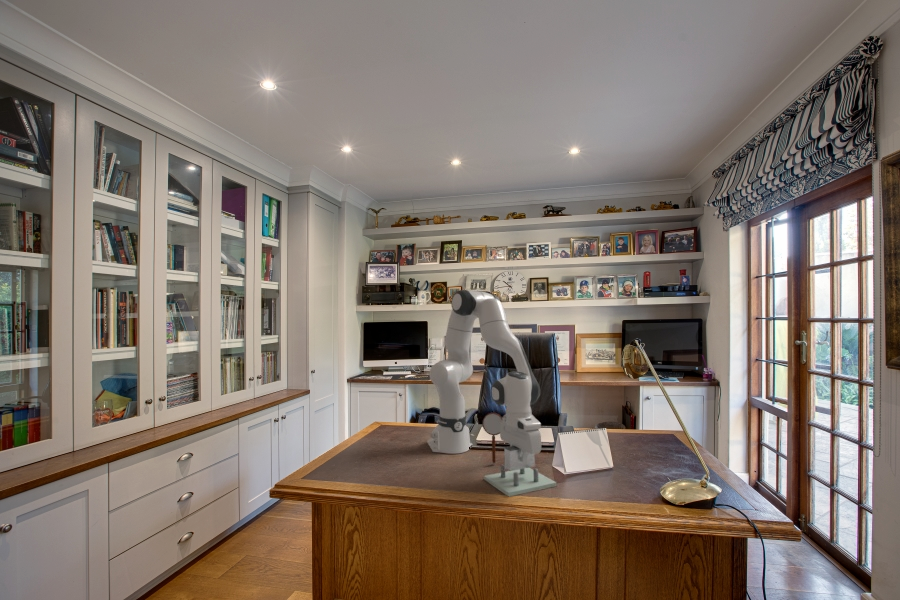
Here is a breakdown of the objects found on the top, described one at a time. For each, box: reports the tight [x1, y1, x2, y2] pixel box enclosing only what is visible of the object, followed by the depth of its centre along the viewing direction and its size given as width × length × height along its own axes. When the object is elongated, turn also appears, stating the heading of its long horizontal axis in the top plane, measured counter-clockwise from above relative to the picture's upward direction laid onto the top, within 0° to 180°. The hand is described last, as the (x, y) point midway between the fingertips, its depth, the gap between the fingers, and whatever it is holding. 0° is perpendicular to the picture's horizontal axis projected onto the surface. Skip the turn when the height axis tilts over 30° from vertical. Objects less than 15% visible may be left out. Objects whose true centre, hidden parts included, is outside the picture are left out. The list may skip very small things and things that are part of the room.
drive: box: [503, 445, 536, 471], centre depth 145 cm, size 4×10×7 cm, turn 115°
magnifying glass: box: [481, 412, 503, 466], centre depth 163 cm, size 9×2×20 cm, turn 74°
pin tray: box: [483, 464, 557, 497], centre depth 145 cm, size 16×19×5 cm
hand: (519, 459), depth 145 cm, fingers closed on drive, 3 cm apart
